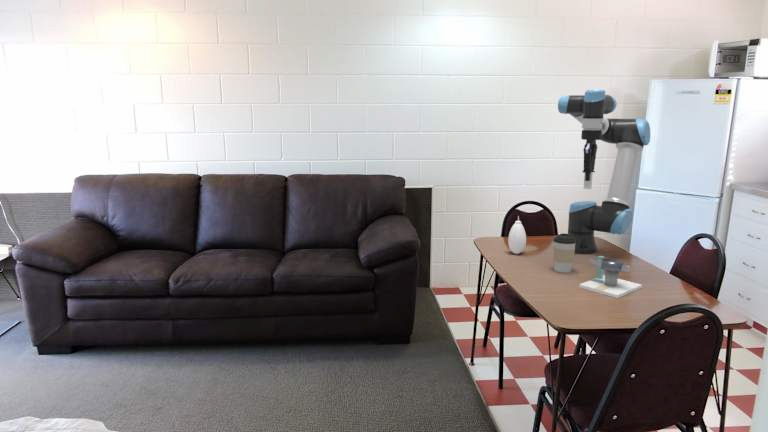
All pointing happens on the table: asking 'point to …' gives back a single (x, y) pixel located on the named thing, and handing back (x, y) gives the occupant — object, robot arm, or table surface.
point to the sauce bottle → (517, 238)
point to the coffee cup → (563, 252)
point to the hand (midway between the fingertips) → (587, 188)
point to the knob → (610, 264)
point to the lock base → (609, 284)
